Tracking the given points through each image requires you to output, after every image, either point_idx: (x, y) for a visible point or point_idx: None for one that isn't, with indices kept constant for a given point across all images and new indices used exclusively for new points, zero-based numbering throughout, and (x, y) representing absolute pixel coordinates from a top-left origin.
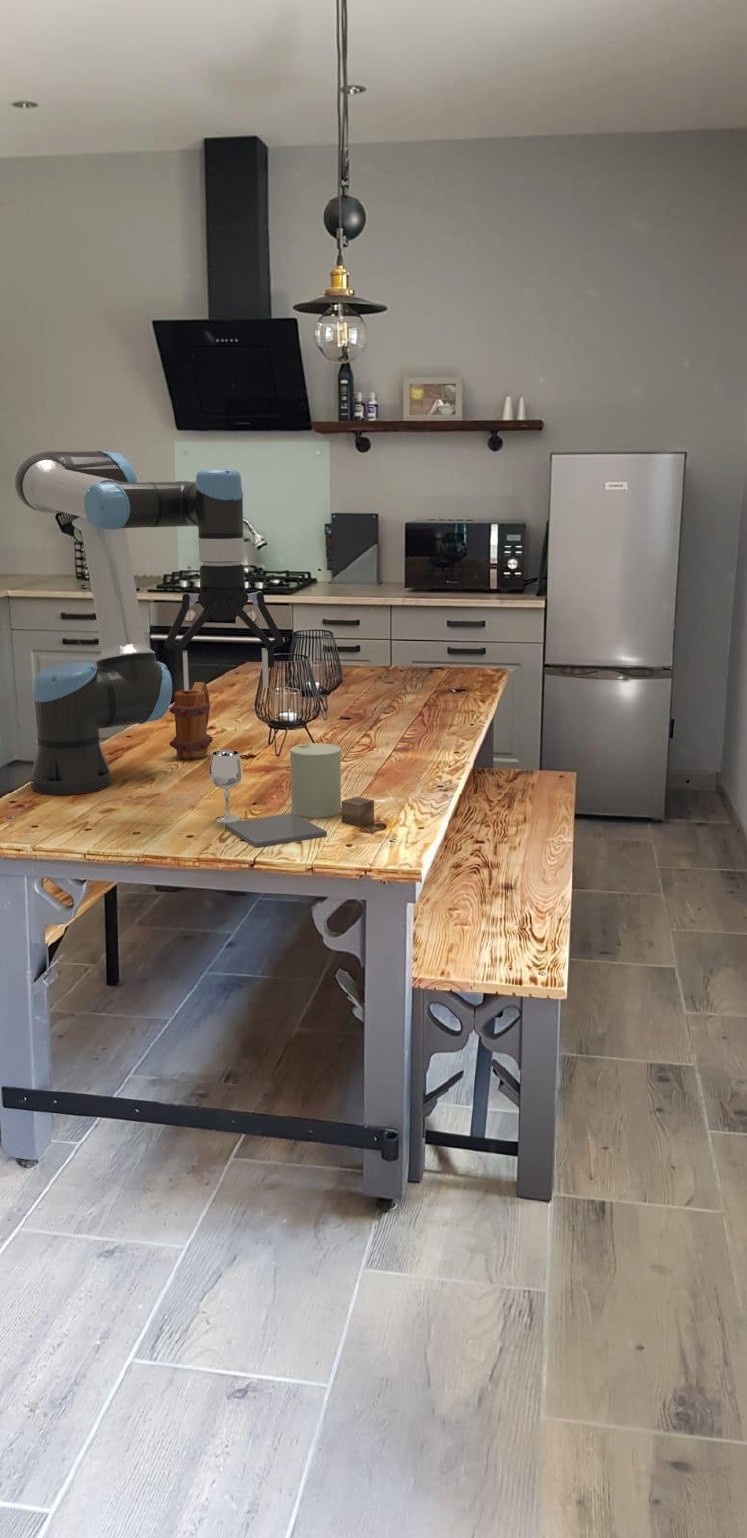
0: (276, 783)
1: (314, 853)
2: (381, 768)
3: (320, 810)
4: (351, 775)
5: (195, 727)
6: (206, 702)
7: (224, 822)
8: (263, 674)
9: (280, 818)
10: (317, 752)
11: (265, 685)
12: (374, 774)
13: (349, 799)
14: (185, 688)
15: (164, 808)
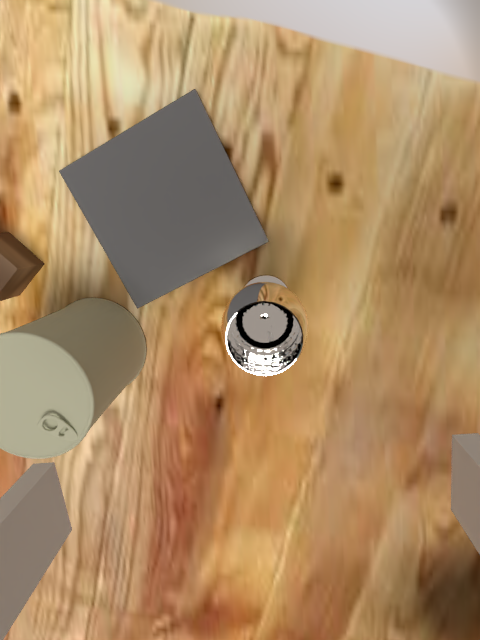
0: (187, 530)
1: (76, 46)
2: None
3: (80, 302)
4: (56, 565)
5: None
6: None
7: (270, 276)
8: (18, 528)
9: (157, 270)
10: (17, 362)
11: (40, 471)
12: None
13: (2, 280)
14: (477, 440)
15: (394, 386)
